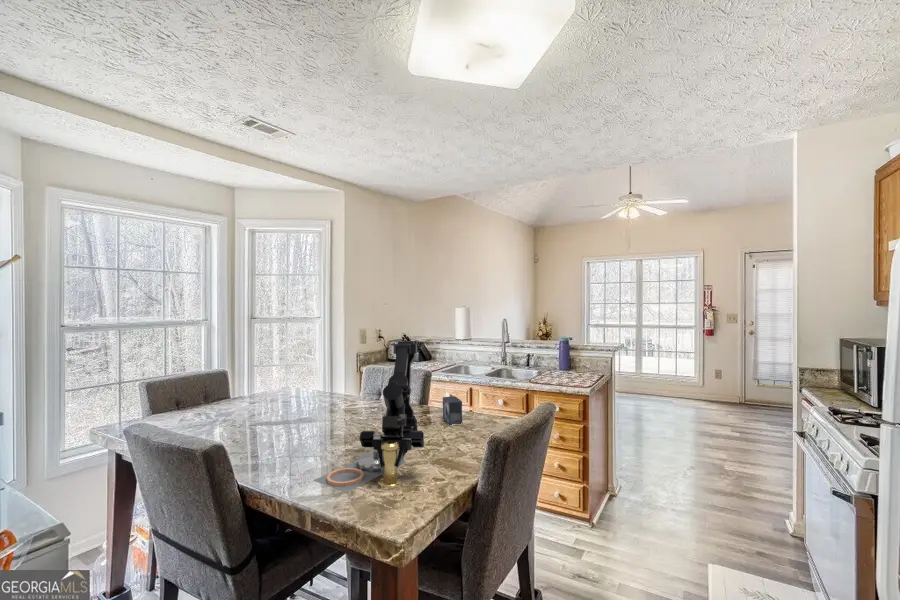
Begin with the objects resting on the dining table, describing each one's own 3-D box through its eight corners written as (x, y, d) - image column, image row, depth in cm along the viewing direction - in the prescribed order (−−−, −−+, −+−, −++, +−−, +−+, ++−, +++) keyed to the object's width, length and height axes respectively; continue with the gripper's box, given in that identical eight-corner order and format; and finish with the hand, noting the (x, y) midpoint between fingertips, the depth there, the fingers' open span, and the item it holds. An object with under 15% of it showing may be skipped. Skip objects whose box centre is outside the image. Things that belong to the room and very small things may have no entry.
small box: (441, 419, 189) (441, 396, 189) (455, 418, 191) (455, 395, 191) (448, 426, 179) (448, 402, 179) (462, 425, 181) (462, 400, 181)
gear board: (375, 457, 143) (375, 450, 143) (407, 466, 135) (407, 458, 135) (313, 485, 121) (313, 476, 121) (346, 497, 113) (346, 488, 113)
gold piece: (389, 481, 124) (389, 437, 124) (407, 486, 120) (407, 441, 120) (372, 489, 118) (372, 444, 118) (391, 495, 114) (391, 448, 114)
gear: (375, 453, 142) (375, 442, 142) (405, 461, 135) (405, 449, 135) (345, 466, 131) (345, 453, 131) (377, 476, 124) (377, 462, 124)
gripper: (360, 403, 123) (351, 454, 112) (423, 403, 123) (420, 454, 112) (366, 422, 131) (358, 471, 120) (425, 422, 131) (422, 471, 120)
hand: (389, 467), depth 118 cm, fingers closed on gold piece, 4 cm apart
